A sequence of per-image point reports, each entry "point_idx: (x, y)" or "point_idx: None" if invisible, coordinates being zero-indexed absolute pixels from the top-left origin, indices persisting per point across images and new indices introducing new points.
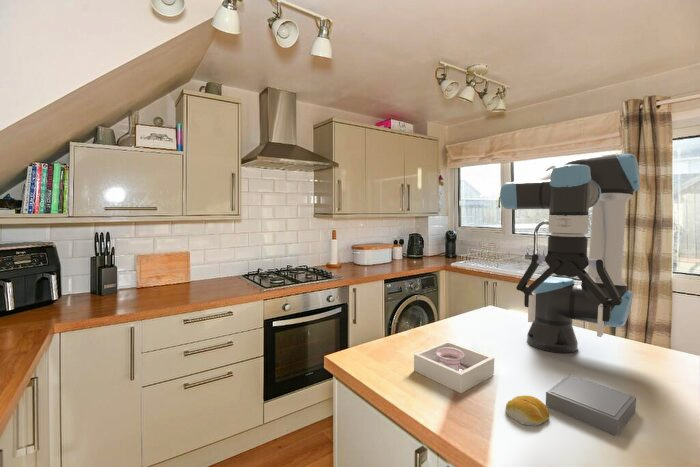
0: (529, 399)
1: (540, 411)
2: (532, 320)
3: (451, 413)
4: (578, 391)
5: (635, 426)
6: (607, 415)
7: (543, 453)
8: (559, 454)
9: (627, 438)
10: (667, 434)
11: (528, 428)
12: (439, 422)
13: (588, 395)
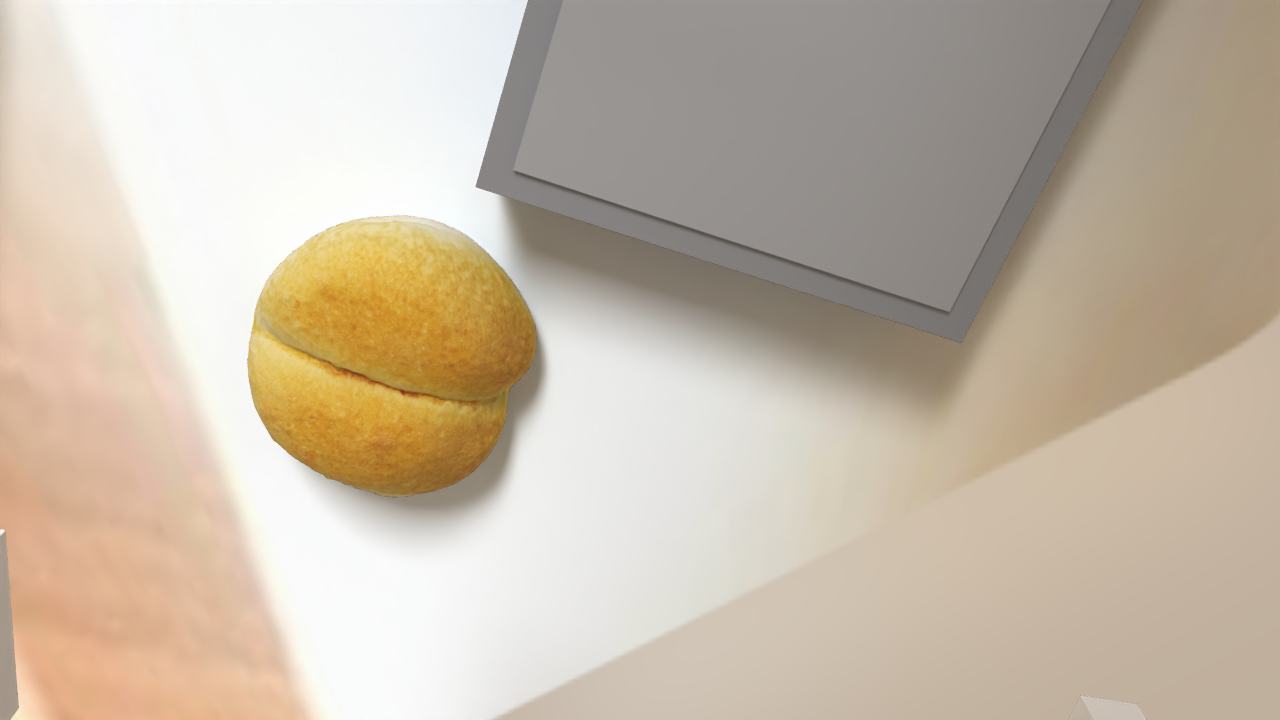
0: (383, 367)
1: (478, 400)
2: (1, 678)
3: None
4: (732, 25)
5: None
6: (905, 313)
7: (545, 640)
8: (616, 611)
9: None
10: (1273, 82)
11: None
12: None
13: (810, 57)
